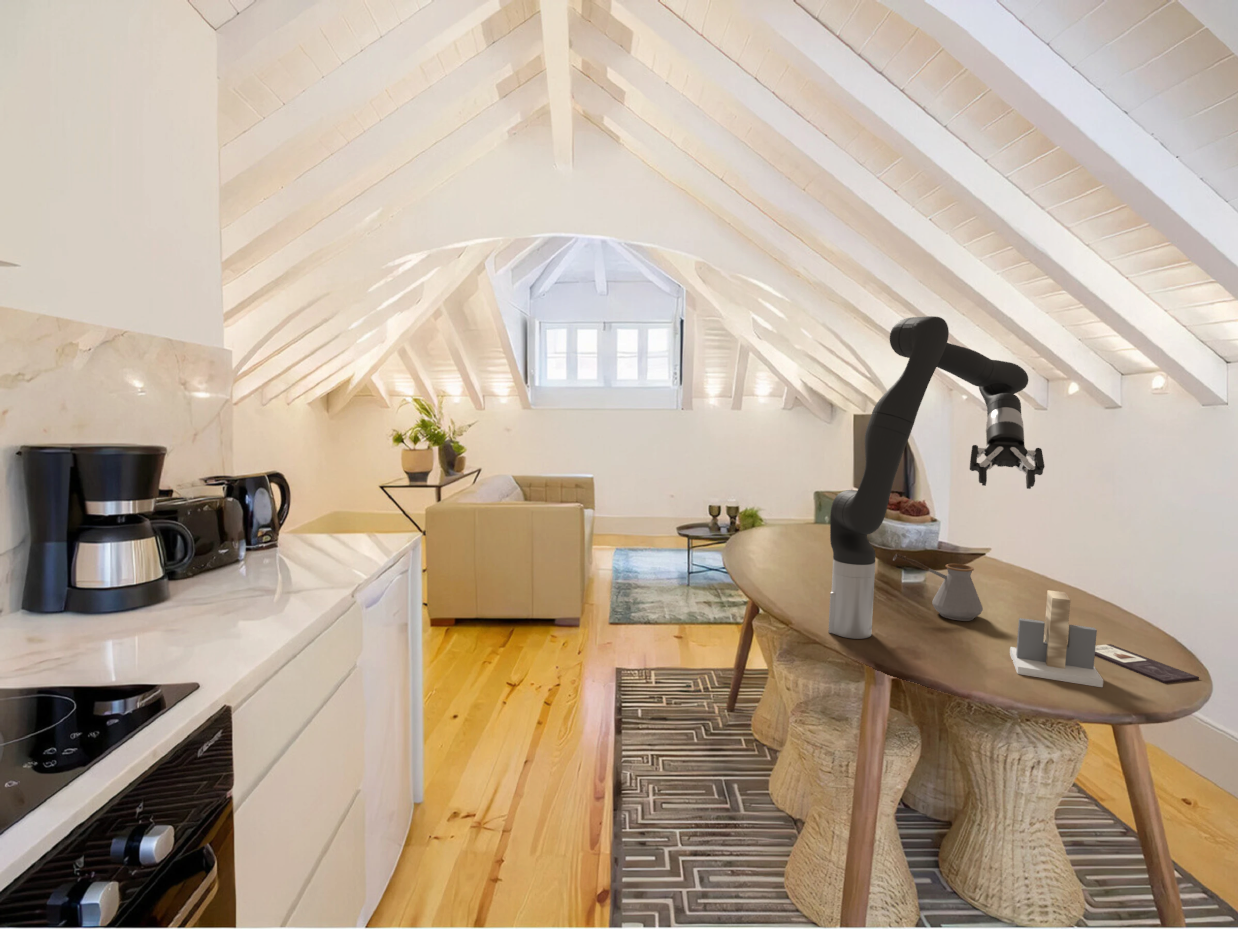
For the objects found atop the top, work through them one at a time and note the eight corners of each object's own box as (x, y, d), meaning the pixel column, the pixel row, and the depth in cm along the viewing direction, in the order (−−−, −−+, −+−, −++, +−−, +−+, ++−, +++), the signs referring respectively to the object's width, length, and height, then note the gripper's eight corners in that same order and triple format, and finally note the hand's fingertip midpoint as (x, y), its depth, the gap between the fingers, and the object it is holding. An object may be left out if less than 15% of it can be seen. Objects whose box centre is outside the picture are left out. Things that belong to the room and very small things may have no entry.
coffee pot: (977, 612, 169) (980, 555, 168) (986, 626, 158) (990, 565, 157) (888, 603, 176) (891, 548, 174) (892, 615, 165) (895, 558, 164)
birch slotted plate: (1047, 666, 130) (1052, 597, 129) (1042, 655, 136) (1047, 590, 134) (1064, 668, 129) (1070, 600, 128) (1059, 658, 134) (1064, 592, 133)
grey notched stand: (1017, 673, 130) (1020, 627, 129) (1009, 653, 141) (1012, 610, 140) (1102, 687, 124) (1106, 639, 123) (1087, 665, 135) (1091, 620, 134)
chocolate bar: (1164, 680, 126) (1078, 647, 144) (1163, 685, 126) (1078, 651, 144) (1199, 677, 128) (1110, 644, 146) (1198, 681, 128) (1110, 648, 146)
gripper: (971, 419, 152) (971, 471, 143) (1043, 421, 146) (1048, 476, 137) (968, 440, 157) (968, 493, 148) (1037, 443, 151) (1041, 498, 142)
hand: (1006, 484), depth 142 cm, fingers open, 8 cm apart
